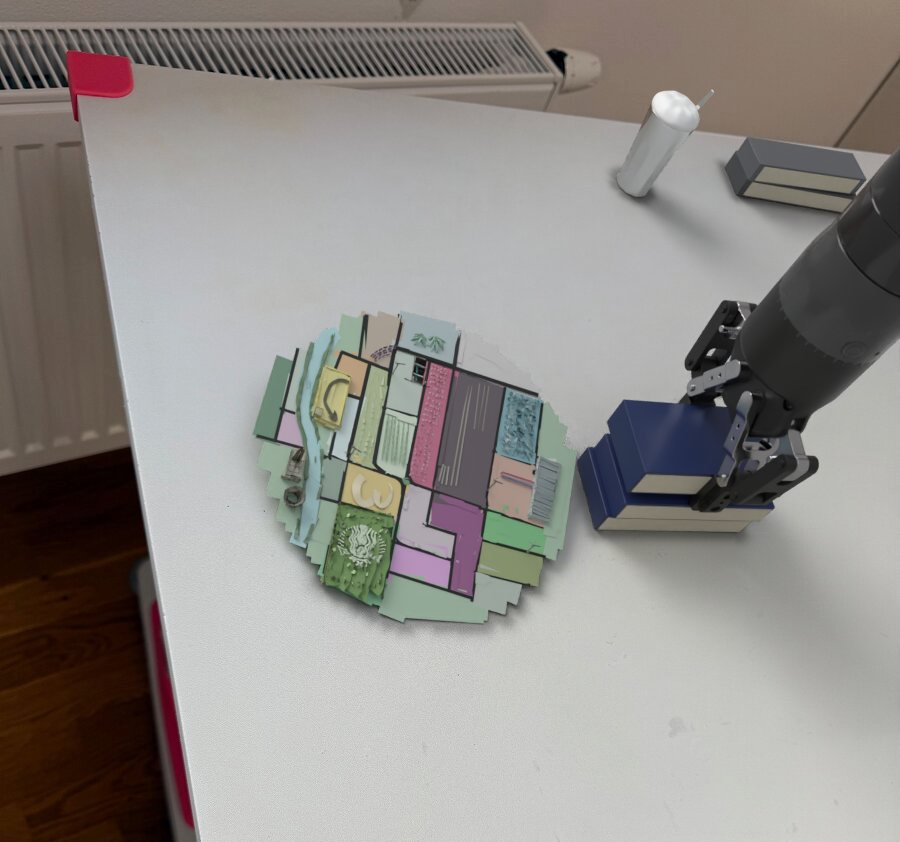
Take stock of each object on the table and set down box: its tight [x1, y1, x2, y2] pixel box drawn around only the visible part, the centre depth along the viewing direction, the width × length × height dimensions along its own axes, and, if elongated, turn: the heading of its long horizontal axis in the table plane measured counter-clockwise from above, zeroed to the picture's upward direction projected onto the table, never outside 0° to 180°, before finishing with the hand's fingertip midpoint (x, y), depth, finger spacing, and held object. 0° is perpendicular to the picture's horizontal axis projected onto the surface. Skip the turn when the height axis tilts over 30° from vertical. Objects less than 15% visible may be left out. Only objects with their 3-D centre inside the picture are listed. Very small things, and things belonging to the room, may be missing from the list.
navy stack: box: [576, 433, 776, 533], centre depth 73 cm, size 13×6×4 cm, turn 101°
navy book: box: [606, 398, 784, 498], centre depth 69 cm, size 13×6×3 cm, turn 101°
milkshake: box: [616, 89, 715, 198], centre depth 88 cm, size 4×5×10 cm
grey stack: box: [724, 136, 867, 214], centre depth 98 cm, size 14×4×4 cm, turn 101°
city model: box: [242, 310, 578, 624], centre depth 66 cm, size 25×23×6 cm
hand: (688, 467), depth 71 cm, fingers closed on navy book, 6 cm apart
